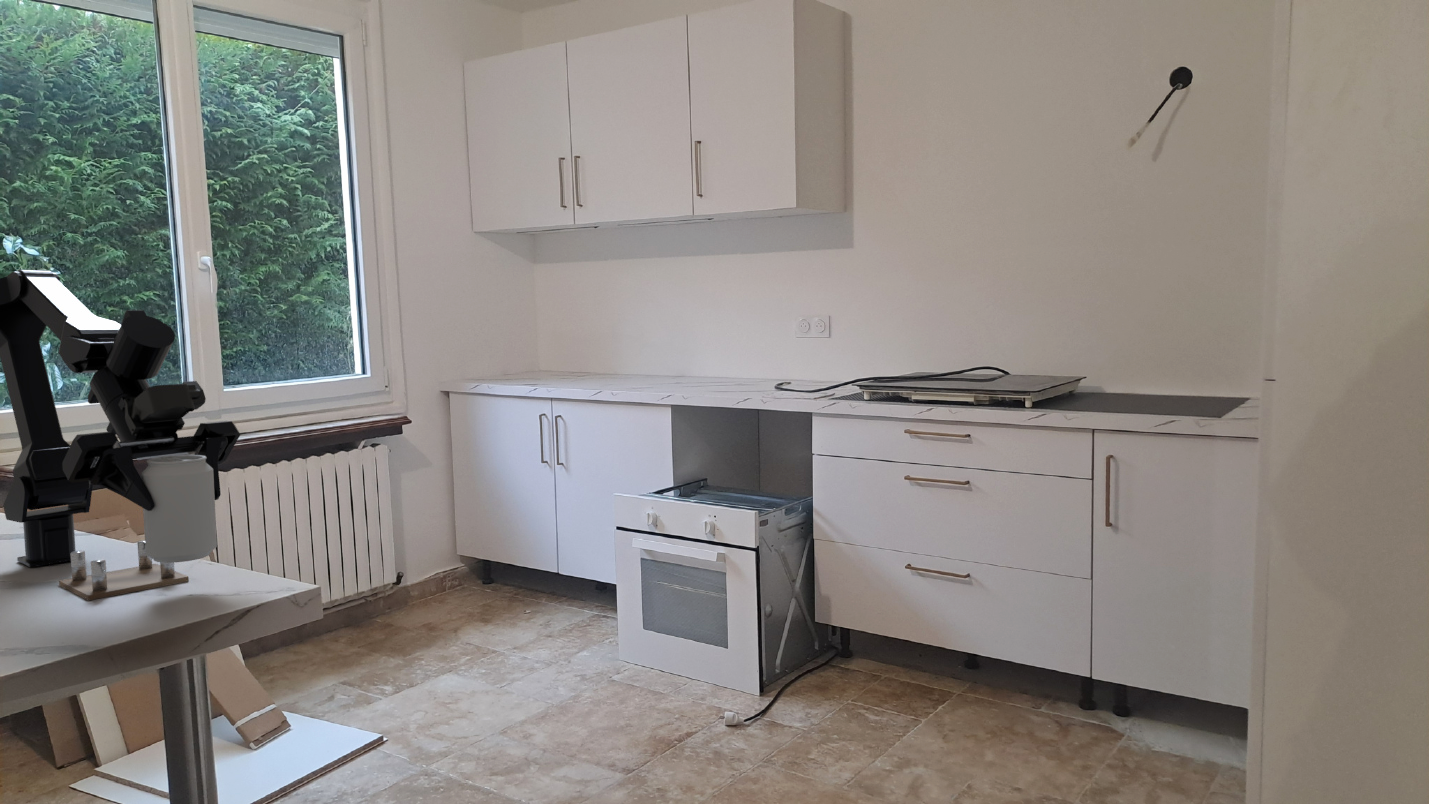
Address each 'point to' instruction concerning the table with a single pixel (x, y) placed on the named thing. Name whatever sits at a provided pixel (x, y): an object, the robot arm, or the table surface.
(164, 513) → the can
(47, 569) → the table surface
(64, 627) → the table surface
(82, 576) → the standoff plate
